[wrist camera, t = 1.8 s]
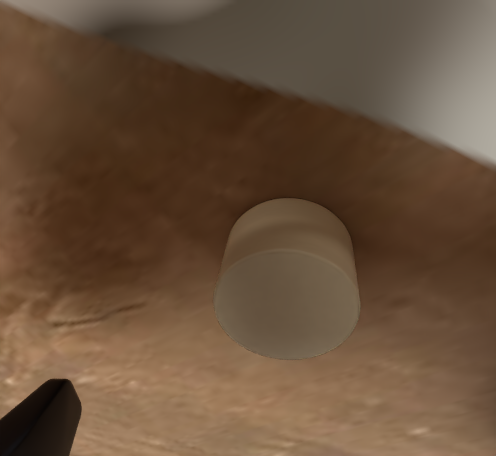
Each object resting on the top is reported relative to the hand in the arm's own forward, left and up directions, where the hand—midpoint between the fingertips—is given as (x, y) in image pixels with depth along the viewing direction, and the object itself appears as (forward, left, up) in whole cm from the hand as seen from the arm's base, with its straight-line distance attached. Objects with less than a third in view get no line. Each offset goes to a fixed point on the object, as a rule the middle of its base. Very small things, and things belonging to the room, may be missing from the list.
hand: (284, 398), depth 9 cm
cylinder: (0, 0, -5) cm, 5 cm away
